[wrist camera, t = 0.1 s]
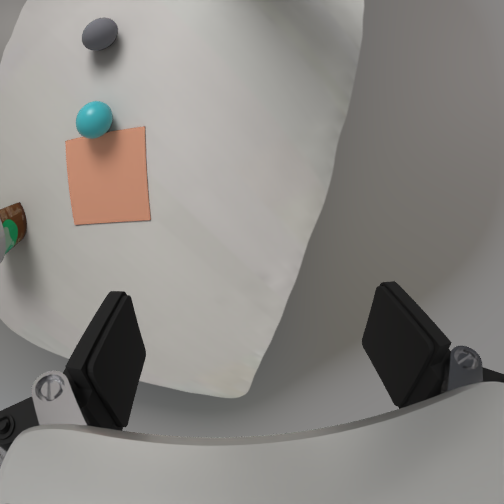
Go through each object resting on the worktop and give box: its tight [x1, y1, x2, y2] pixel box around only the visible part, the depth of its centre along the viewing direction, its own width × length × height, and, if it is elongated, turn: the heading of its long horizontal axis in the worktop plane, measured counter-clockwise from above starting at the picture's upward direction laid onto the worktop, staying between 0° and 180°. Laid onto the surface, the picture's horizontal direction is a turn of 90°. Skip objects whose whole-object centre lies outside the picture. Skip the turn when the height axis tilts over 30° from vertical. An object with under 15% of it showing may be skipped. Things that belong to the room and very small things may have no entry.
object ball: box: [76, 101, 112, 139], centre depth 30 cm, size 6×6×6 cm
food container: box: [0, 202, 27, 263], centre depth 33 cm, size 12×6×10 cm, turn 126°
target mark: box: [65, 127, 151, 225], centre depth 36 cm, size 14×14×1 cm
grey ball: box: [82, 18, 118, 51], centre depth 24 cm, size 6×6×6 cm
